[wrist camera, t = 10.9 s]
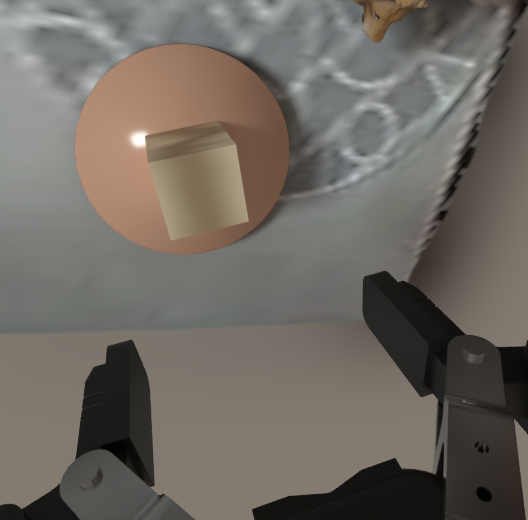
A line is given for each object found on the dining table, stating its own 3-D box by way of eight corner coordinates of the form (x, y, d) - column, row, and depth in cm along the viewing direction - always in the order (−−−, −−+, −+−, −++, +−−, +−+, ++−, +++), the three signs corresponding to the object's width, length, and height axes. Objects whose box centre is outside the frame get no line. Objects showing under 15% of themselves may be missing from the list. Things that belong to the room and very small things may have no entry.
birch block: (217, 120, 28) (235, 144, 23) (229, 187, 31) (248, 221, 26) (144, 135, 27) (147, 162, 22) (164, 202, 30) (170, 240, 25)
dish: (272, 26, 27) (279, 27, 26) (290, 221, 36) (296, 230, 34) (40, 62, 25) (35, 65, 24) (117, 263, 33) (116, 274, 32)
